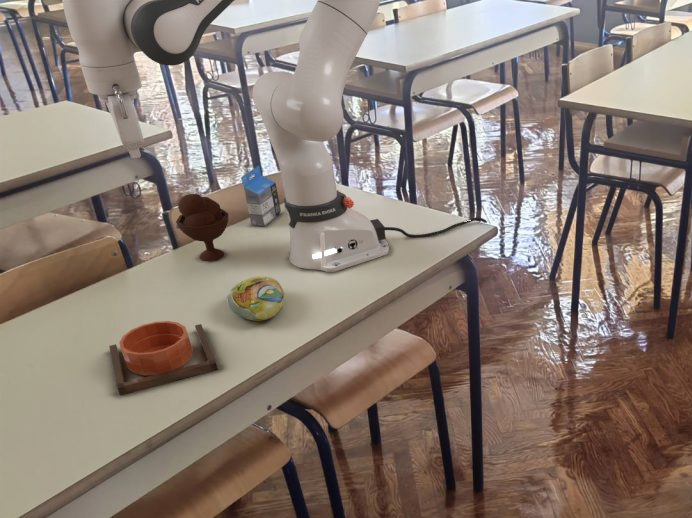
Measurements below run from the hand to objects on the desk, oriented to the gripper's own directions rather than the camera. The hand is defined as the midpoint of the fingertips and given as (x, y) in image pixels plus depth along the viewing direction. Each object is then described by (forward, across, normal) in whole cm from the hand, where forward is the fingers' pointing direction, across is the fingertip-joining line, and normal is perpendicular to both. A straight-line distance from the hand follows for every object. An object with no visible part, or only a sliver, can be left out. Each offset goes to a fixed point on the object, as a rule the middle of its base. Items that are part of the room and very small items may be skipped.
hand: (135, 155), depth 143 cm
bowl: (+29, -26, +6) cm, 40 cm away
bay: (+29, -26, +6) cm, 39 cm away
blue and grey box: (+29, +29, -26) cm, 49 cm away
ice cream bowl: (+29, +14, -10) cm, 34 cm away
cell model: (+29, -16, -14) cm, 36 cm away
